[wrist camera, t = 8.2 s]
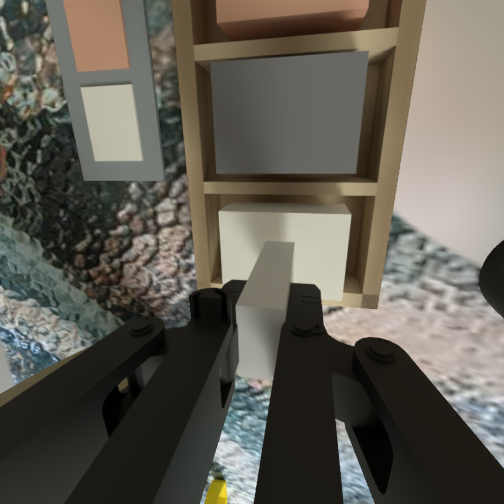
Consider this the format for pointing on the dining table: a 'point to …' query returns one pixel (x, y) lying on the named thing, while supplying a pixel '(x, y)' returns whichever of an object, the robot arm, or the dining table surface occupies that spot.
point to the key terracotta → (288, 17)
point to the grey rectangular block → (289, 113)
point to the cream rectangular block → (288, 240)
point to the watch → (217, 493)
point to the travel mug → (494, 278)
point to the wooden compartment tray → (303, 185)
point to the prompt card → (109, 87)
